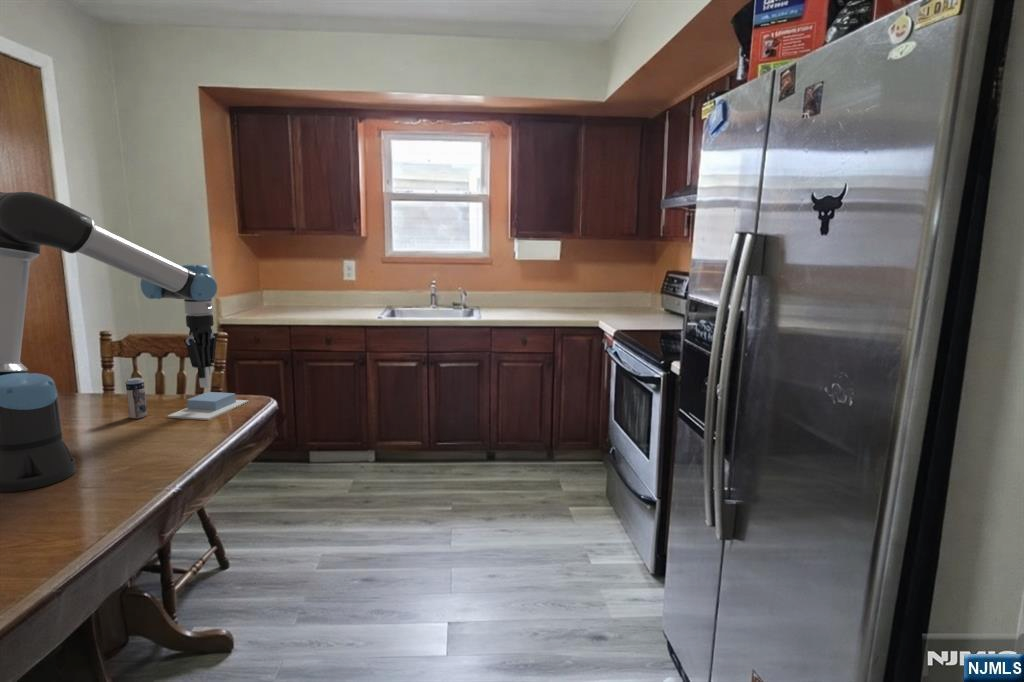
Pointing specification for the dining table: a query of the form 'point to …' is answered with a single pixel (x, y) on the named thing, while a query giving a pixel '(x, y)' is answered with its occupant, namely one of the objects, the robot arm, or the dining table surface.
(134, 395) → the beer can
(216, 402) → the block
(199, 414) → the mat
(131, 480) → the dining table surface
